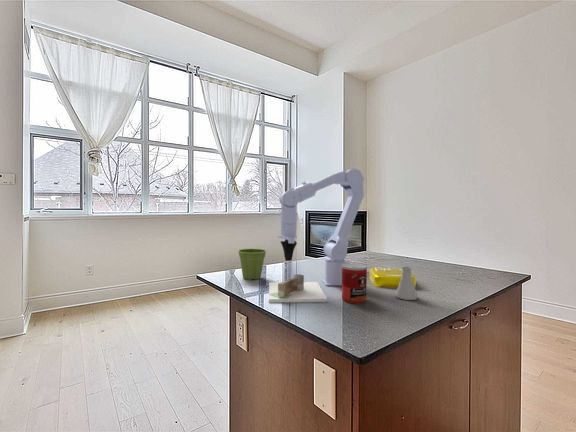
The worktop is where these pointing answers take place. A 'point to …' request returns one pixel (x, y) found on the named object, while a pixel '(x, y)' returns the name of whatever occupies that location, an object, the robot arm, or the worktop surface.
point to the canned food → (354, 283)
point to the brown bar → (291, 285)
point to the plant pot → (252, 262)
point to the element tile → (387, 277)
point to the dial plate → (298, 294)
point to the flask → (406, 286)
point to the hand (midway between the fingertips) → (288, 260)
